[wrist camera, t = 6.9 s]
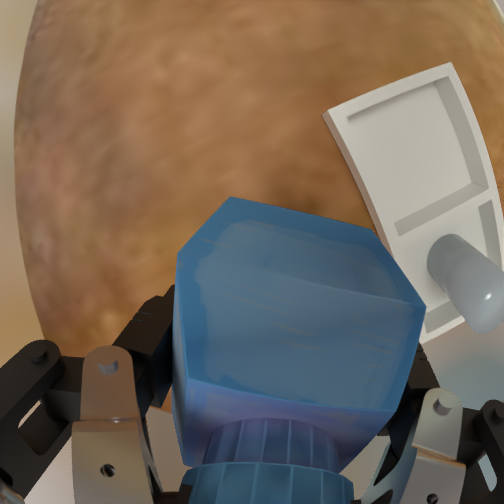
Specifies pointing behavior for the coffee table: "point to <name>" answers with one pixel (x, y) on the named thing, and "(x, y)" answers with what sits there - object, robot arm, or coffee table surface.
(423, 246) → the tray
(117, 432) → the robot arm
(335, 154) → the coffee table surface
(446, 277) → the grey rounded cylinder
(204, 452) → the perfume bottle
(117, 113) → the coffee table surface
